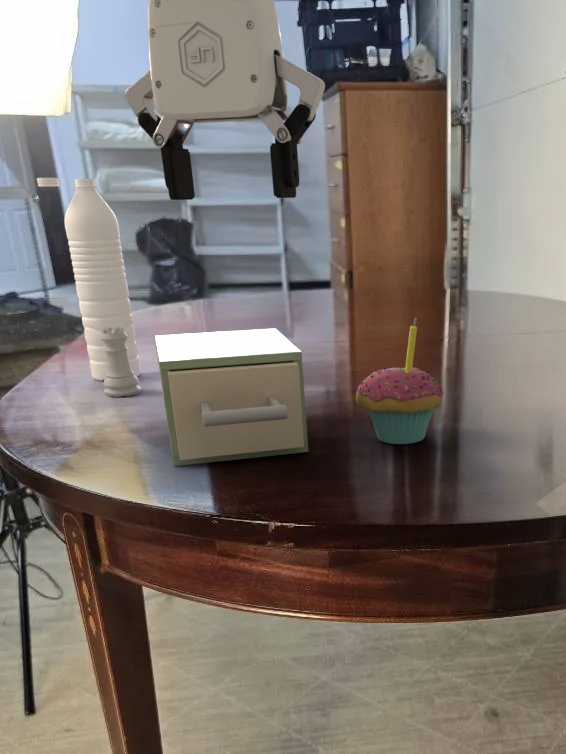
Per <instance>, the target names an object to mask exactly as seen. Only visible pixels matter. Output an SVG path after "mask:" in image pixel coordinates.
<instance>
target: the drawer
mask: <svg viewBox="0 0 566 754" xmlns="http://www.w3.org/2000/svg"><path fill="white" fill-rule="evenodd" d="M168 379H169V386H170V393H171V400H172V407H173V415H174V422H175V429H176V436H177V443H178V451H179V457H180V460H186V459H196V458H205V457H215V456H224V455H234V454H243V453H253V452H262V451H271V450H281V449H290V448H300V447H304V438H303V424H302V410H301V395H300V381H299V366H298V364H297V363H296V362H290V363H286V362H271V363H258V364H244V365H231V366H217V367H204V368H190V369H177V370H173V371H170V372H168Z"/></svg>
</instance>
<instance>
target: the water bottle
mask: <svg viewBox="0 0 566 754" xmlns="http://www.w3.org/2000/svg"><path fill="white" fill-rule="evenodd" d="M36 181H37V187H60V181H59V178H58V177H37V178H36ZM74 184H75V185H74V186H73V188H75V192H74V194H73V196H72V197H71V198H72V199H71V200H70V203H69V205H68V207H67V209H66V211H65V215H64V229H65V233H66V239H67V240H68V242H67V243H68V246H69V253H70V260H71V266H72V272H73V274H74V275H73V277H74V280H75V288H76V295H77V298H78V300H79V302H78V305H79V312H80V314H81V316H82V317H81V323H82V327H83V328H84V332H83V333H84V339H85V342H86V344H87V345H86V350H87V355H88V358H89V367H90V374H91V377H92V379H95V380H97V381H104V380H105V378H106V374H107V355H106V352H105V351H104V349H105V343H104V342H103V341H102V340H101V339H100V337H101V335H102V329H106V330H107V328H111V329H112V331H114V330H115V327H119V329H120V328H123V329H124V332H125V333H126V334H127V335H128V337H127V339H126V341H125V345H126V347H127V348H128V349H127V357H128V360H129V364H130V367H131V369H132V371H133V372H134V375H135V376H136V377H137V378H138V377H139V376H140V375H141V374H142V367H141V362H140V357H139V355H138V354H139V349H138V344H137V341H136V330H135V327H134V317H133V314H132V303H131V300H130V297H129V296H130V291H129V285H128V281H127V279H126V278H127V273H126V272H125V271H126V267H125V261H124V255H123V248H122V246H121V245H122V241H121V239H120V237H121V235H120V233H121V232H120V226H119V222H118V218H117V216H116V214H115V213H114V211H113V210H112V208H111V207H110V205H108V203H107V202H106V201H105V200H104V199H103V197H102V196H101V194H99V192H98V191H97V187H98V186H97V185H95V184H96V183H95V179H94V178H74Z"/></svg>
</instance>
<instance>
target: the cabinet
mask: <svg viewBox="0 0 566 754" xmlns="http://www.w3.org/2000/svg"><path fill="white" fill-rule="evenodd" d="M154 342H155V349H156V356H157V362H158V370H159V376H160V377H159V378H160V384H161V390H162V391H161V392H162V397H163V398H162V399H163V406H164V412H165V419H166V426H167V433H168V438H169V444H170V445H169V446H170V449H171V457H172V464H173V467H180V466H188V465H191V466H192V465H198V464H209V463H217V462H227V461H236V460H237V461H238V460H247V459H255V458H263V457H264V458H265V457H273V456H283V455H291V454H292V455H293V454H302V453H309V442H308V441H309V440H308V426H307V425H308V424H307V411H306V410H307V409H306V396H305V381H304V367H303V366H304V365H303V352H302V351H301V350H300V349H299V348H298V347H297V346H295V344H293V342H291V341H290V340H289V339H288V338H287V337H286V336H285V335H284V334H282V333H281V332H280V331H279V330H278V329H277V328H276V327H275V328H273V327H272V328H257V329H244V330H243V329H241V330H227V331H226V330H225V331H211V332H210V331H209V332H195V333H194V332H193V333H177V334H161V335H154ZM271 362H286V363H290V362H296V363H297V364H298V366H299V381H300V395H301V410H302V424H303V438H304V447H300V448H290V449H281V450H271V451H262V452H253V453H243V454H234V455H224V456H215V457H205V458H196V459H186V460H180V457H179V451H178V443H177V436H176V429H175V422H174V415H173V407H172V400H171V393H170V386H169V379H168V372H170V371H173V370H177V369H190V368H204V367H217V366H231V365H244V364H258V363H271Z"/></svg>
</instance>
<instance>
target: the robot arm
mask: <svg viewBox="0 0 566 754" xmlns="http://www.w3.org/2000/svg"><path fill="white" fill-rule="evenodd" d="M277 13H278V12H277V9H276V4H275V0H148V1H147V34H148V35H147V37H148V38H147V39H148V54H149V68H150V69H149V70H148V71H147V72H146V73H145V74H143V75H142V76H141V77H140V78H138V79H137V80H136V81H135V82H134V83H132V84H131V85H130V86H129V87H127V88H126V90H125V92H124V96H125V97H124V98H125V99H126V101H127V103H128V104H129V106H130V108H131V110H132V112H133V114H134V115H135V117H137V123H138V125H139V126H140V128H141V129H142V130H143V131H144V132H145V133H146V134H147V135H148V136H149V137H150V138H151V139H152V142H153V144H154V146H155V147H156V148H159V149H160V154H161V162H162V170H163V177H164V183H165V187H166V188H167V190H168V197H169V199H170V200H171V201H190V200H191V201H192V200H193V199H195V197H196V192H195V185H194V178H193V177H194V176H193V167H192V160H191V152H190V151H189V149H188V148H184V143H185V141H186V139H187V137H188V136H189V134H190V132H191V130H192V128H193V126H194V124H195V123H196V124H213V123H214V124H216V123H237V122H238V123H239V122H257V121H261V122H262V123H263V124H264V125H265V126H266V128H267V130H269V132H270V133H271V134H272V136H273V137H274V142H271V145H270V146H269V153H270V165H271V179H272V187H273V188H272V191H273V196H274V197H276V199H295V198H297V188H298V187H299V186H300V167H299V153H298V145H300V144H301V143H302V141H303V136H304V135H305V133H306V132H307V130H308V129H309V128H310V127H311V125H312V124H313V122H314V121H315V120H316V116H317V113H316V112H317V110H318V109H319V106H320V103H321V100H322V97H323V95H324V93H325V90H326V89H325V88H326V84H325V82H324V80H323V79H321V78H320V77H318V76H316V75H314V74H313V73H311V72H309V71H308V70H307V69H304V68H302V67H300V66H298V65H296V64H295V63H293V62H291V61H289V60H288V59H285V55H284V48H283V40H282V35H281V28H280V24H279V17H278V14H277ZM288 83H290V84H292V85H294V86H296V87H297V88H298V89H299V91H300V96H299V97H298V100H299V101H298V104H296V106H295V107H294V109H293V110H292V112H291V113H290V114H288V113H287V112H286V111H287V107H288ZM152 100H153V103H154V106H153V104H152ZM154 108H155V110H156V112H157V114H156V112H155V110H154ZM158 114H159V115H160V116H161V117H160V116H159V115H158Z"/></svg>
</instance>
